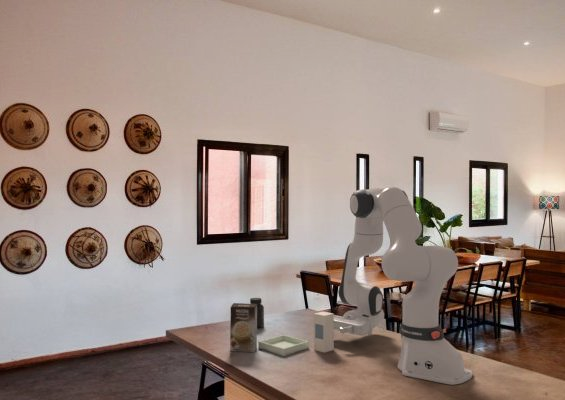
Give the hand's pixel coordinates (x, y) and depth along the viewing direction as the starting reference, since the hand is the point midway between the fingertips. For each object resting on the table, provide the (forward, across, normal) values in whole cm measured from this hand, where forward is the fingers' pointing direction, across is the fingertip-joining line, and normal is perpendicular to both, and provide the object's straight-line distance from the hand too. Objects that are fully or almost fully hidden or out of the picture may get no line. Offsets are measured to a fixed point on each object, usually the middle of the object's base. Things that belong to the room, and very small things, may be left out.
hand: (331, 328), depth 178 cm
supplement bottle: (-1, -42, +7) cm, 43 cm away
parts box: (+4, 0, +7) cm, 8 cm away
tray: (+13, -12, +7) cm, 19 cm away
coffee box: (+24, -21, +7) cm, 33 cm away
